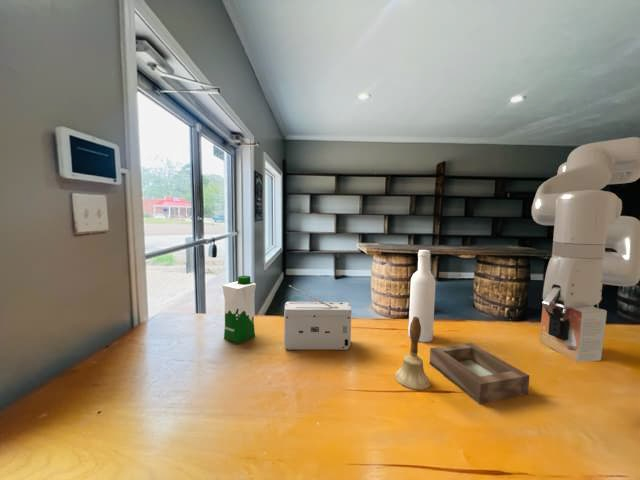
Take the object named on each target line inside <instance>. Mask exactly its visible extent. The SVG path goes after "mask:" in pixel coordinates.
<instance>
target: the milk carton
mask: <svg viewBox="0 0 640 480" xmlns="http://www.w3.org/2000/svg"><path fill="white" fill-rule="evenodd" d="M256 286H257V283H256V282H251V276H250V275H240V276H238V277H237V280H236V281H233V282H228V283H227V284H223V285H222V292H223V298H224V333H223V334H224V335H223V339H224V340H227V341H229V342H232V343H234V344H238V345H239V344H242V343H243V342H245V341H247V340H250V339H251V338H254V337H255V336H256V334H255V333H256V332H255V330H256V329H255V315H254V314H255V292H256Z"/></svg>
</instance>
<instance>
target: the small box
mask: <svg viewBox="0 0 640 480" xmlns="http://www.w3.org/2000/svg"><path fill="white" fill-rule="evenodd" d="M542 300H543V299H542ZM543 301H544V300H543ZM543 301H542V302H543ZM558 304H561V305H563V304H564V303H563V302H559V303H558ZM557 309H559V311H560V312H561V313H562V311H563V308H559V307H558V308H557ZM607 313H608V311H607V310H606V309H602V308H599V307H598V308H595V307H592V306H584V307H577V308H570V312H569V316H568V318H567V321H568V322H569V332H568V340H566V341H564V340H561V339H559V338H556V337H554V336H551V335H549V333H548V331H549V318H550V317H548V313H547V311H546V309H545V308H544V306H543V305H542V311H541V322H540V331H539V332H540V333H539V341H538V342H539V343H540V344H542V345H544V346H546V347H549V348H550V349H551V350H554V351H556V352H557V353H559V354H561V355H563V356H564V357H567V358H568V359H570V360H571V361H574V362H575V363H582V362H583V363H584V362H595V361H601V360H602V355H603V348H604V347H603V345H604V340H605V339H604V338H605V330H606V322H607Z"/></svg>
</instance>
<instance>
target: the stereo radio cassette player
mask: <svg viewBox="0 0 640 480" xmlns="http://www.w3.org/2000/svg"><path fill="white" fill-rule="evenodd" d="M288 286H289V287H290V288H293V289H295V290H296V291H297V292H299V293H302V294H303V295H306V296H308V297H309V298H312V299H313V300H315V301H286V302H285V304H284V311H283V312H284V313H283V314H284V315H283V316H284V317H283V319H284V322H283V323H284V324H283V325H284V326H283V328H284V329H283V332H284V333H283V334H284V335H283V344H284V345H283V346H284V348H286V349H287V350H288V351H291V350H319V351H320V350H322V351H323V350H328V351H329V350H333V351H334V350H344V351H347V350H349V349H350V347H351V338H352V337H351V334H352V307H351V306H352V305H351V304H350V302H347V301H322V300H320V299H319V298H316V297H315V296H313V295H310V294H308V293H306V292H304V291H302V290H300V289H297V288H295V287H293V286H292V285H290V284H289V285H288Z"/></svg>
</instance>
